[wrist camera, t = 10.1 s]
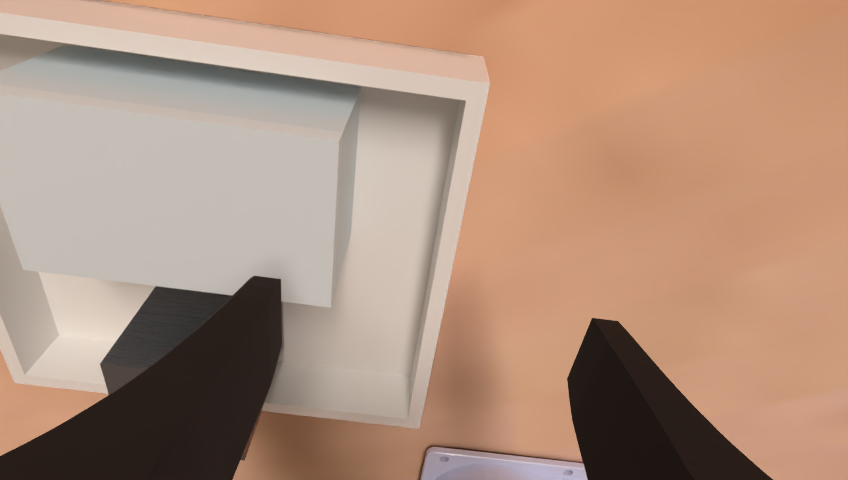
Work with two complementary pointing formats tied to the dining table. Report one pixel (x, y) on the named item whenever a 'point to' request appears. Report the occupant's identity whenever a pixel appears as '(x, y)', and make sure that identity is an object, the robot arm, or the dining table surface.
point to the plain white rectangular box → (177, 173)
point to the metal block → (161, 334)
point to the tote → (371, 217)
